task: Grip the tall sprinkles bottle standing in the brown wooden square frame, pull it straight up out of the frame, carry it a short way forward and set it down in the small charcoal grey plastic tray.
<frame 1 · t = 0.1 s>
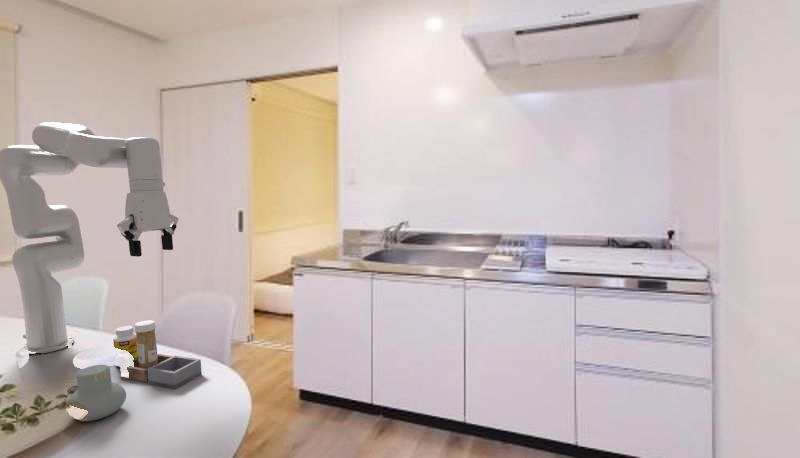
hand: (152, 252, 116), 31 cm above the table, tool pointing down, fingers open, 9 cm apart
air freshener: (97, 414, 96), on the table
brown wooden square frame: (149, 372, 116), on the table
supplement bottle: (127, 365, 121), on the table
sprinkles bottle: (149, 373, 116), resting in brown wooden square frame
tray: (175, 379, 111), on the table
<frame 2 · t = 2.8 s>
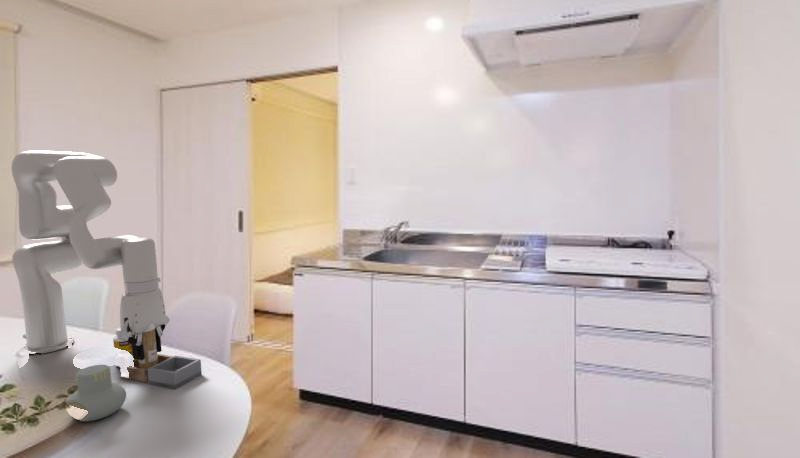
hand: (147, 354, 115), 5 cm above the table, tool pointing down, fingers closed on sprinkles bottle, 4 cm apart
sprinkles bottle: (149, 373, 116), resting in brown wooden square frame, touching gripper
everything else where it was.
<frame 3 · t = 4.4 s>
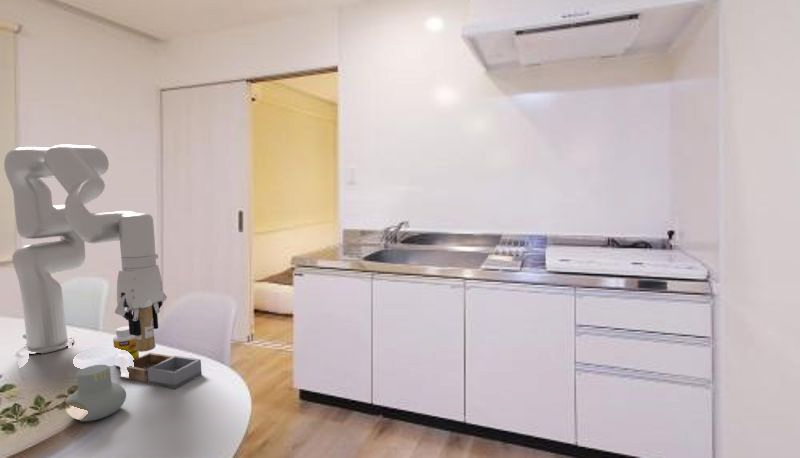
hand: (144, 330, 115), 11 cm above the table, tool pointing down, fingers closed on sprinkles bottle, 4 cm apart
sprinkles bottle: (145, 349, 115), point 6 cm above the table, touching gripper
everything else where it was.
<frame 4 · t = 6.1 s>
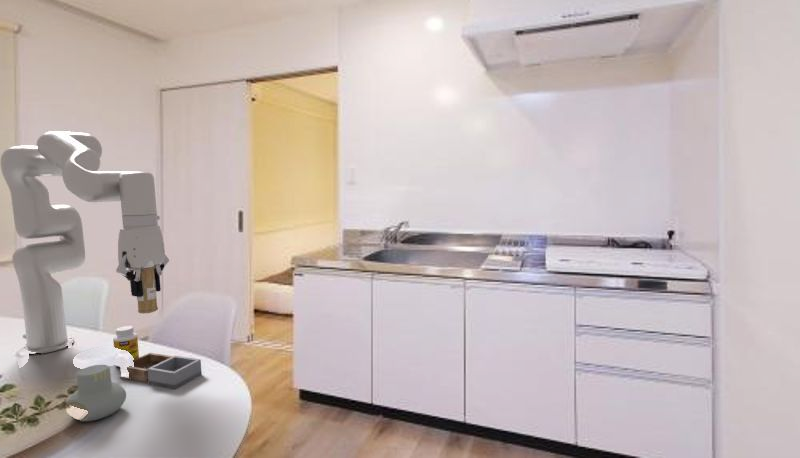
hand: (146, 292, 112), 21 cm above the table, tool pointing down, fingers closed on sprinkles bottle, 4 cm apart
sprinkles bottle: (148, 312, 113), point 16 cm above the table, touching gripper
everything else where it was.
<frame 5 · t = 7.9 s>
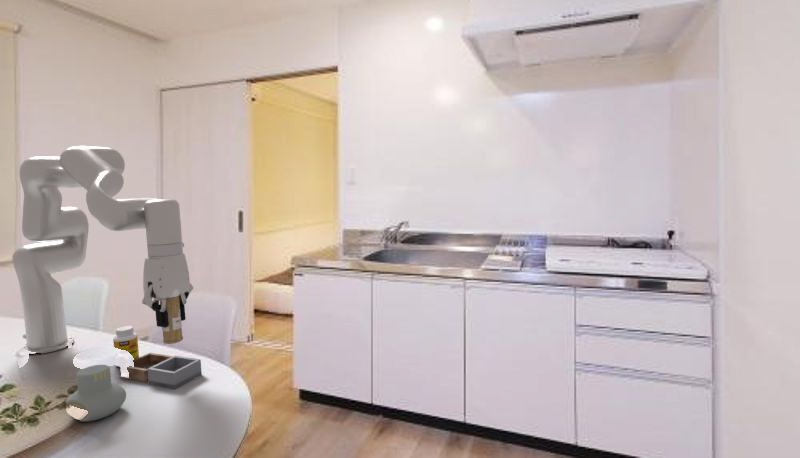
hand: (171, 322, 110), 15 cm above the table, tool pointing down, fingers closed on sprinkles bottle, 4 cm apart
sprinkles bottle: (173, 341, 110), point 10 cm above the table, touching gripper
everything else where it was.
when the fingers open (8 cm above the table, at t = 9.5 s): sprinkles bottle drops 2 cm, resting on tray.
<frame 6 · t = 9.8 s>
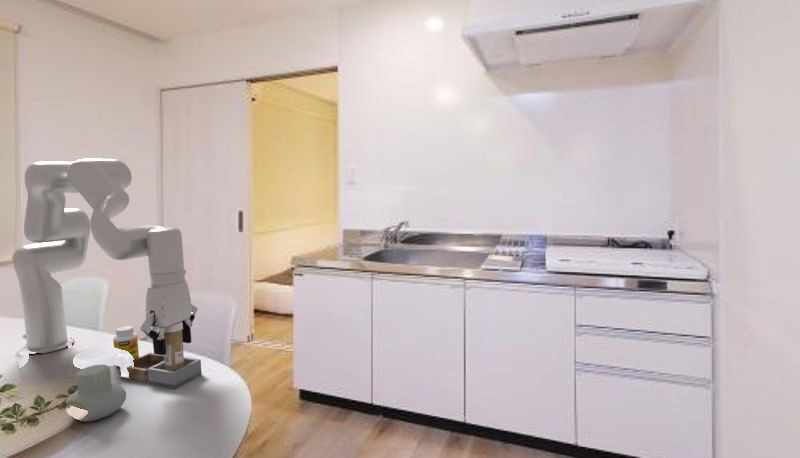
hand: (173, 347, 110), 8 cm above the table, tool pointing down, fingers open, 7 cm apart
sprinkles bottle: (174, 375, 111), point 1 cm above the table, touching tray
everything else where it was.
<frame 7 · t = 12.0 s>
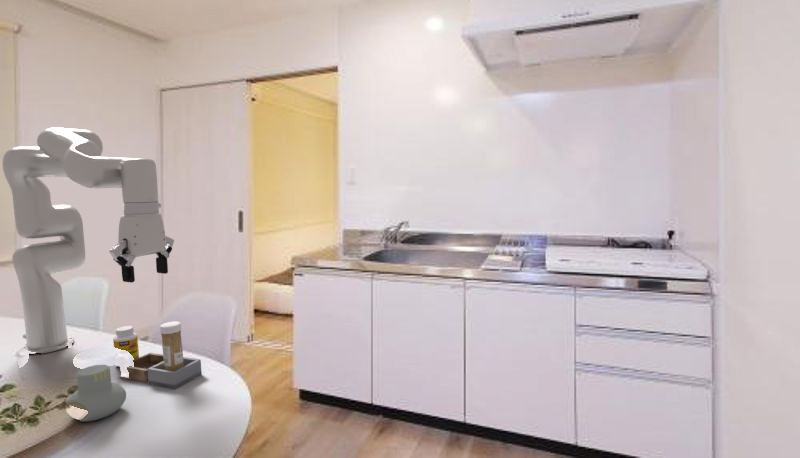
hand: (146, 277, 111), 26 cm above the table, tool pointing down, fingers open, 9 cm apart
nothing on the table moved.
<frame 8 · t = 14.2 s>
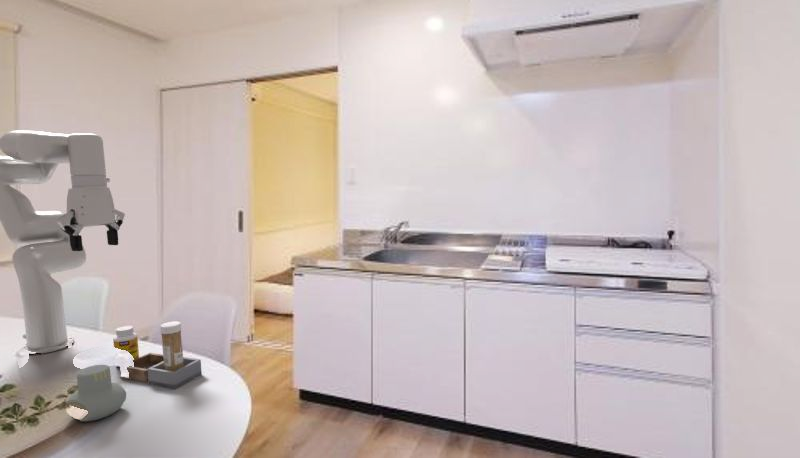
hand: (95, 247, 117), 32 cm above the table, tool pointing down, fingers open, 9 cm apart
nothing on the table moved.
at the end: sprinkles bottle 0.2 cm off-centre on the tray, point 0.8 cm above the tray's base; the gripper is holding nothing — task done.
